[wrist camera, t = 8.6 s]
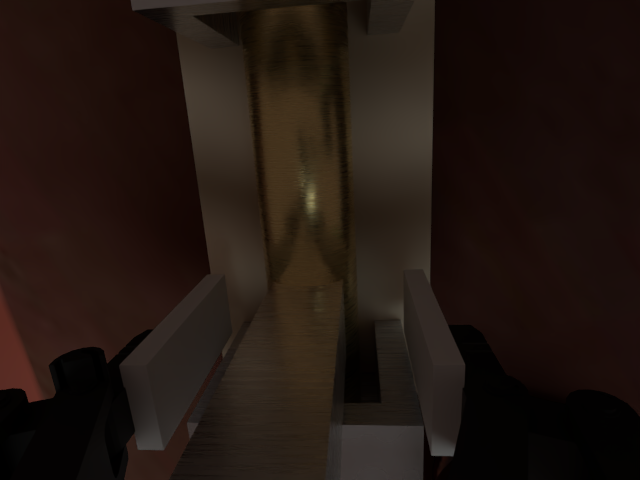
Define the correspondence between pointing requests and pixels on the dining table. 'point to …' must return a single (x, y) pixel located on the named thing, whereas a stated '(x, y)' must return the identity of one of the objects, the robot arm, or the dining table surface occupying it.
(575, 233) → the dining table surface
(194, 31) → the sleeve
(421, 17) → the plank
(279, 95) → the slide bolt
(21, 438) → the robot arm
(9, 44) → the dining table surface
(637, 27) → the dining table surface
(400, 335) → the socket
